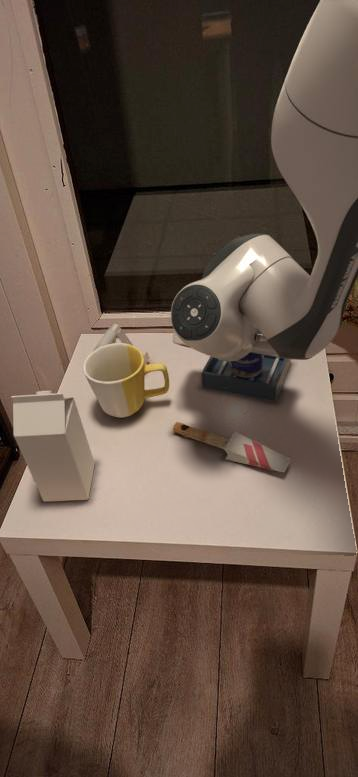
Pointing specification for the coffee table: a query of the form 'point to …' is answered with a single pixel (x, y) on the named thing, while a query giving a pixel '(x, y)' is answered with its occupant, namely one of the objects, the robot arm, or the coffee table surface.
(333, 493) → the coffee table surface
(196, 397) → the coffee table surface
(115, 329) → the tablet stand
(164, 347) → the coffee table surface
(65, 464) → the milk carton
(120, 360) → the mug
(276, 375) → the drying rack
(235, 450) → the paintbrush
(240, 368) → the pill bottle
